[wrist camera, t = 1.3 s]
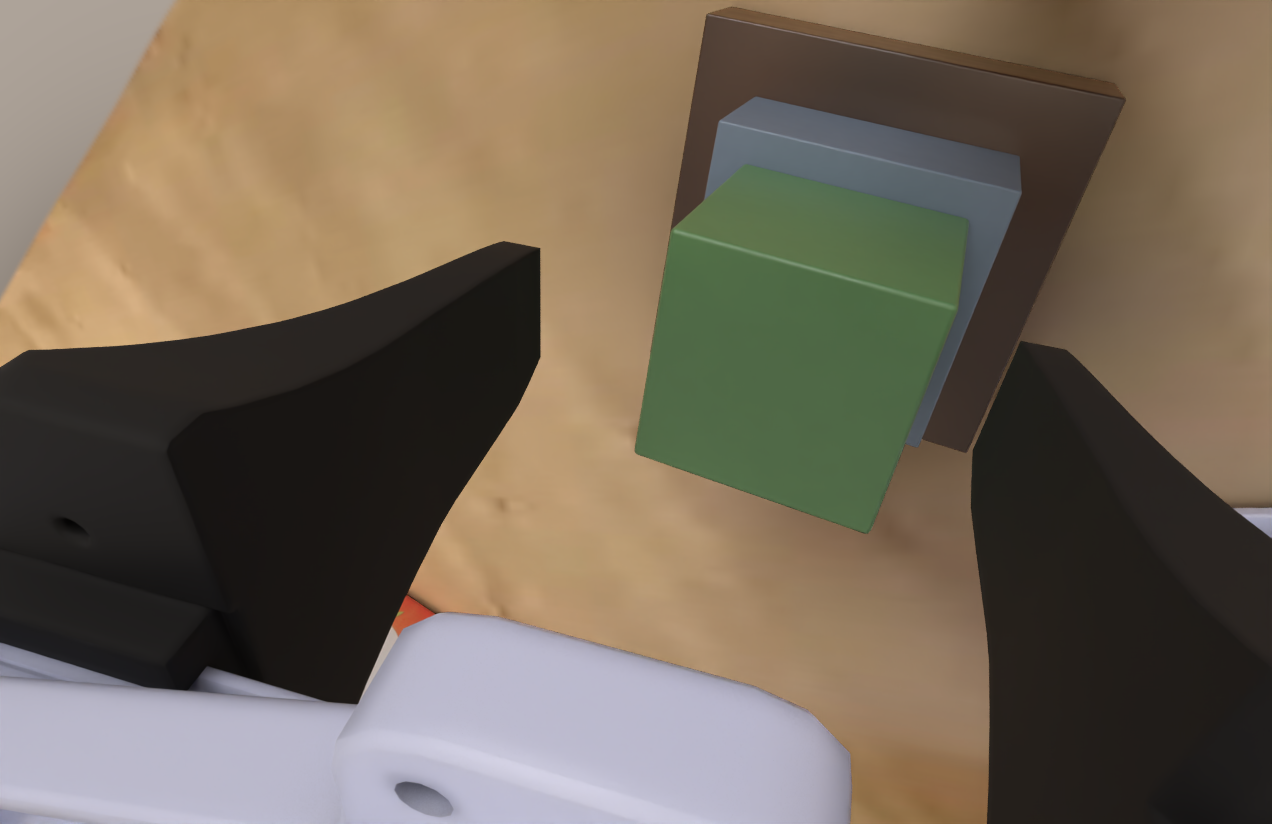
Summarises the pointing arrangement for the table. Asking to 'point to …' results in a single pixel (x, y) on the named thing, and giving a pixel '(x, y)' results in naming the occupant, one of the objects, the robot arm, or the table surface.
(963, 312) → the blue-grey block
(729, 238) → the green block
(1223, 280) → the table surface
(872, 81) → the walnut slab
